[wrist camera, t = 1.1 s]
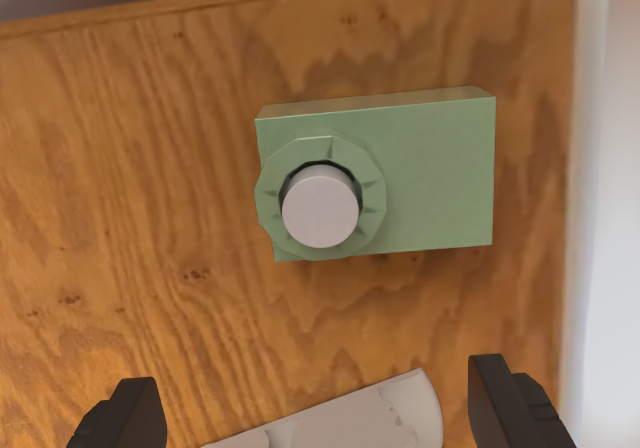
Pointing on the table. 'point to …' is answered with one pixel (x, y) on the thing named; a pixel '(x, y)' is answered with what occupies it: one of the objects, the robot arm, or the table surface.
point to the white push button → (320, 206)
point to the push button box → (386, 168)
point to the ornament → (358, 420)
